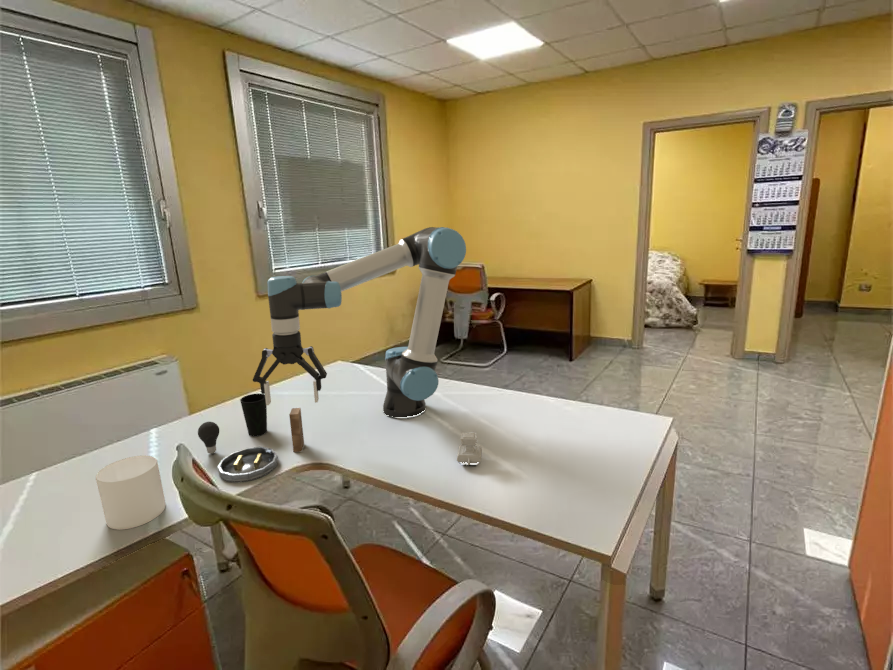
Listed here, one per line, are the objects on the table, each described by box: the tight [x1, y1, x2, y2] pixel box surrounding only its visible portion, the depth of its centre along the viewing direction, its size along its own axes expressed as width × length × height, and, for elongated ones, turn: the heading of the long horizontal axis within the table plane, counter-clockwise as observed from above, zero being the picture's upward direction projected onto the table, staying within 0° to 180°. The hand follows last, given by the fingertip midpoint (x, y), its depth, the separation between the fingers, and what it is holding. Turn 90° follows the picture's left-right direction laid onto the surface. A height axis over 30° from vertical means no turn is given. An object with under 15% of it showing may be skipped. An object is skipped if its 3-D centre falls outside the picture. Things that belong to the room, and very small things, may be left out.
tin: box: [217, 446, 279, 483], centre depth 126 cm, size 15×15×3 cm
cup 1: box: [95, 455, 166, 531], centre depth 106 cm, size 12×12×12 cm
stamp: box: [456, 432, 483, 465], centre depth 126 cm, size 9×7×8 cm
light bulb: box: [197, 421, 220, 455], centre depth 133 cm, size 6×6×10 cm
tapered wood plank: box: [288, 407, 305, 453], centre depth 135 cm, size 2×4×12 cm, turn 8°
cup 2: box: [239, 393, 268, 437], centre depth 145 cm, size 8×8×12 cm
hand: (292, 402), depth 133 cm, fingers open, 13 cm apart
